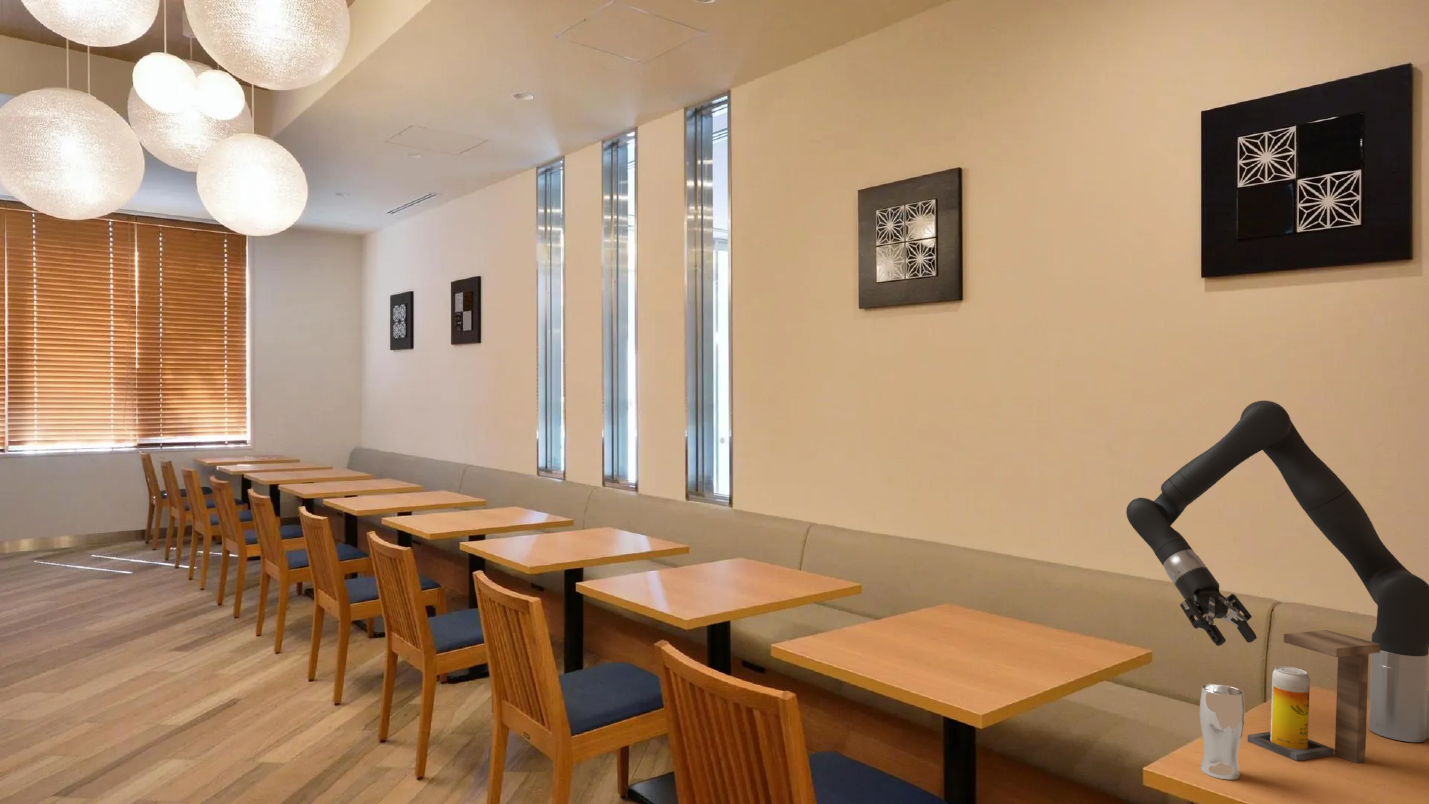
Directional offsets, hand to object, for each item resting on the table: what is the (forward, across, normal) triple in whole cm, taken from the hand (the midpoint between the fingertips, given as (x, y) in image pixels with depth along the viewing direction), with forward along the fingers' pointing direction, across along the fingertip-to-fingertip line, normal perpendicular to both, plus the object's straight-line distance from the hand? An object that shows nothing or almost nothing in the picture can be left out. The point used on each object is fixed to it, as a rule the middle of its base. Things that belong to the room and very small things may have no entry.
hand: (1237, 642), depth 181 cm
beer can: (+20, +1, +5) cm, 21 cm away
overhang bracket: (+22, +2, +3) cm, 23 cm away
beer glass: (+24, -23, +1) cm, 33 cm away
